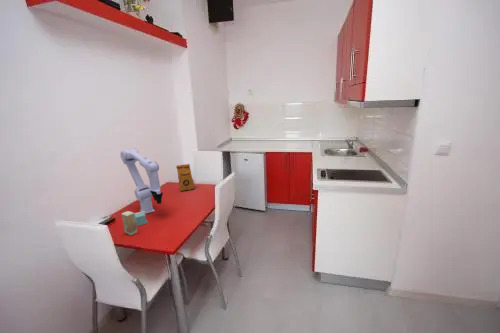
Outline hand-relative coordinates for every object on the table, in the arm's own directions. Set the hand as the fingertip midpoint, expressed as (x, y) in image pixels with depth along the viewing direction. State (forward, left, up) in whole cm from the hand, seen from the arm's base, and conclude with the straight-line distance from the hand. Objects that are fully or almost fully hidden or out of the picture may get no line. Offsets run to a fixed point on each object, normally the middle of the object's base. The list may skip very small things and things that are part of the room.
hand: (157, 201), depth 155 cm
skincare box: (+12, -19, -10) cm, 24 cm away
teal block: (+2, -12, -10) cm, 15 cm away
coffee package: (-38, +32, -10) cm, 51 cm away
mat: (+2, -12, -10) cm, 16 cm away
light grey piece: (+1, -14, -10) cm, 17 cm away
